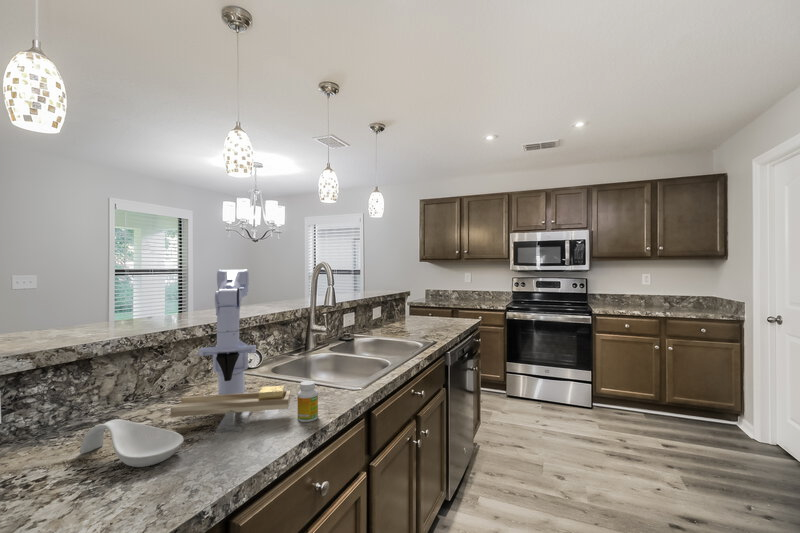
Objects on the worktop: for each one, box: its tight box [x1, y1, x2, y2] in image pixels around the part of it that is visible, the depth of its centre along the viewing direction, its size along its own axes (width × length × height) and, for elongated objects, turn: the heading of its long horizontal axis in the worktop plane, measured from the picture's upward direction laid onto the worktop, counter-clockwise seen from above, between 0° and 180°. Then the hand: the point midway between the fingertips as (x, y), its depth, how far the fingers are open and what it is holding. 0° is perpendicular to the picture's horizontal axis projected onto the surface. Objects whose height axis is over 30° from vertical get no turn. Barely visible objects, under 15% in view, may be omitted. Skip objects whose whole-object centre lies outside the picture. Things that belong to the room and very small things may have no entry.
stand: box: [215, 411, 252, 434], centre depth 97 cm, size 12×6×5 cm, turn 12°
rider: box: [258, 385, 285, 400], centre depth 99 cm, size 5×6×3 cm
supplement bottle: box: [297, 380, 319, 423], centre depth 99 cm, size 5×5×10 cm
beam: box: [170, 389, 292, 418], centre depth 97 cm, size 8×28×3 cm, turn 102°
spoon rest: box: [79, 418, 184, 468], centre depth 79 cm, size 24×12×7 cm, turn 75°
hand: (228, 380), depth 101 cm, fingers closed
